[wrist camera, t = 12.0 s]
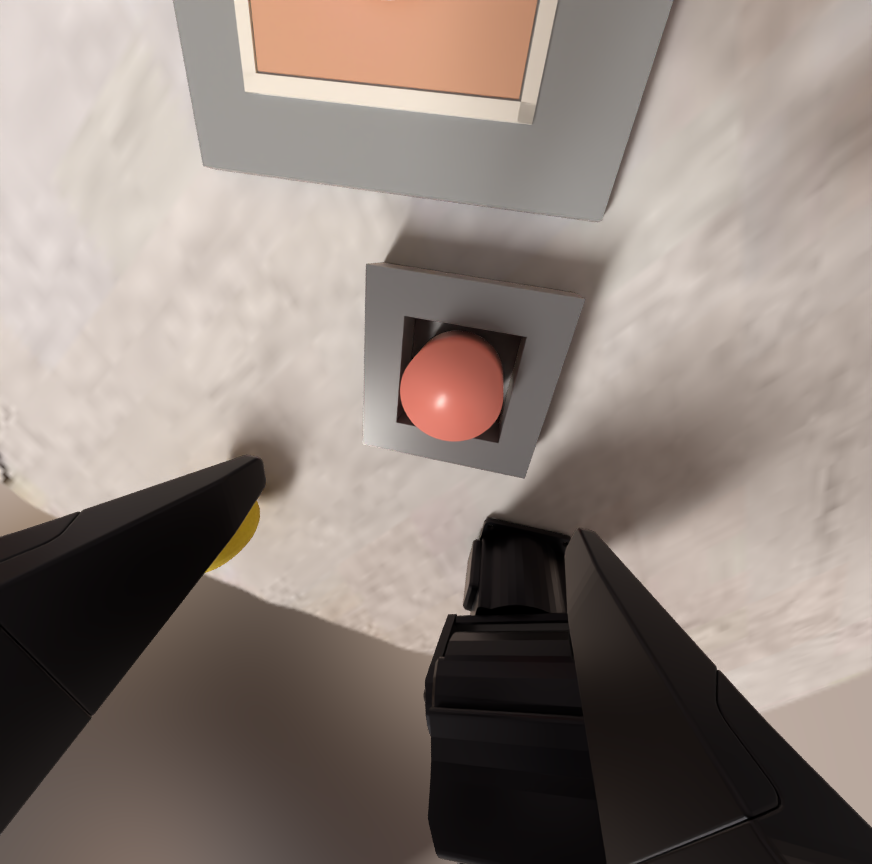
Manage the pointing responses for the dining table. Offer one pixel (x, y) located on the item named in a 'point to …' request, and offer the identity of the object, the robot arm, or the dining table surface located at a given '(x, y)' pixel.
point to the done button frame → (472, 307)
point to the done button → (453, 386)
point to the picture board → (424, 94)
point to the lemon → (239, 538)
